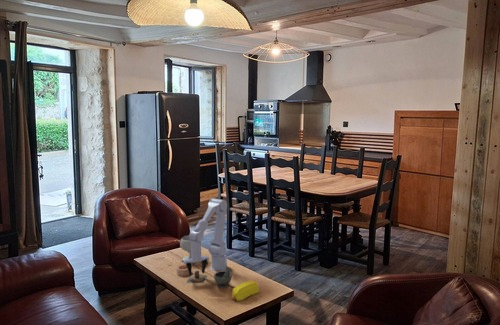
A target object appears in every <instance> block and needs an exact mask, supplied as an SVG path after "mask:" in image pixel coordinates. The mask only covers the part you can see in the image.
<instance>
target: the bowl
mask: <svg viewBox="0 0 500 325" xmlns="http://www.w3.org/2000/svg"><path fill="white" fill-rule="evenodd" d="M175 270H176V275H177V276H180V277H185V276H190V275H189V271H188V268H187V266H186V265H185V264H180V265H178V266H176V268H175Z"/></svg>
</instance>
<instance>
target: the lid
mask: <svg viewBox="0 0 500 325" xmlns="http://www.w3.org/2000/svg"><path fill="white" fill-rule="evenodd" d="M204 276H205V275H204V274H200V271H199V270H195V271H194V274H192V276H190V275H189V277H190V281H191V282H201V281H203V280H204Z"/></svg>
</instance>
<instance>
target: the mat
mask: <svg viewBox="0 0 500 325" xmlns="http://www.w3.org/2000/svg"><path fill="white" fill-rule="evenodd" d="M203 276H204V280H203V281H201V282H191V281H190V276H189V277H188V279H187V281H186V284H187V283H189V284H190V283H191V284H204V283H205V281H206V279H207V277H208V275H203Z"/></svg>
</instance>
